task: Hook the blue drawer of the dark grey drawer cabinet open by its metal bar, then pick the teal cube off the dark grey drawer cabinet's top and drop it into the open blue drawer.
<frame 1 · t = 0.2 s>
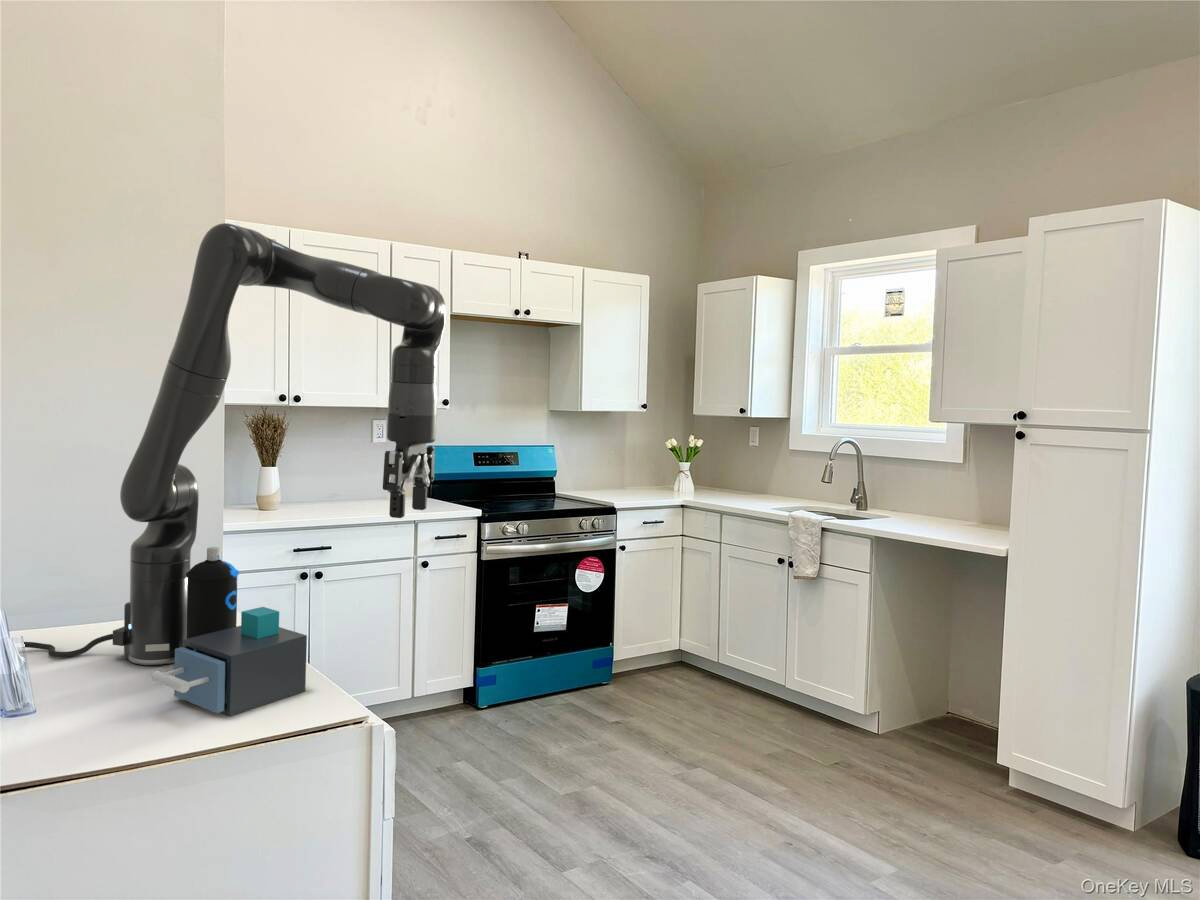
hand: (408, 513, 142), 29 cm above the countertop, tool pointing down, fingers open, 8 cm apart
aerosol can: (211, 665, 151), on the countertop
dark grey drawer cabinet: (244, 694, 139), on the countertop
blue drawer: (218, 673, 134), point 5 cm above the countertop, slide at 0.5 cm
teal cube: (259, 633, 140), point 9 cm above the countertop, touching dark grey drawer cabinet
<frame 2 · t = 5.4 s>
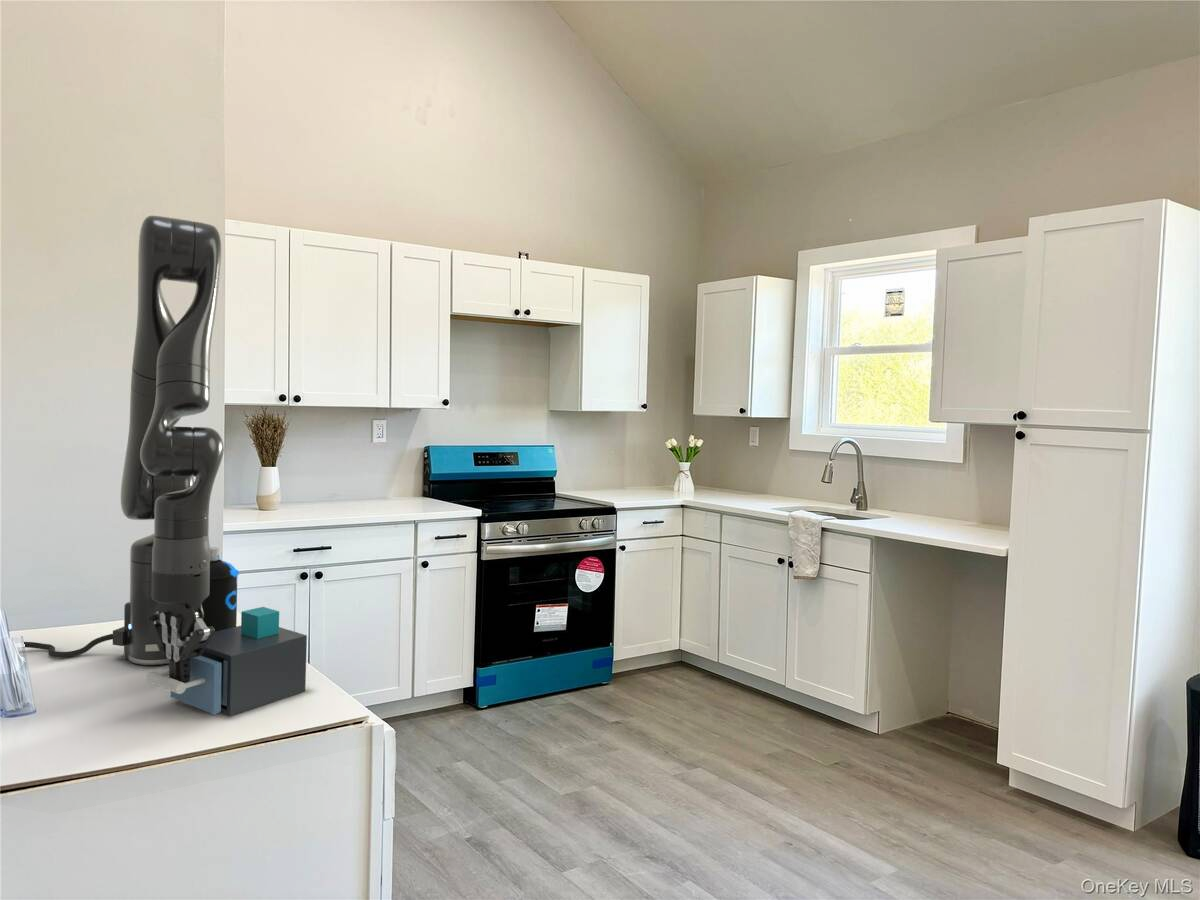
hand: (179, 684, 129), 5 cm above the countertop, tool pointing down, fingers closed
blue drawer: (215, 674, 134), point 5 cm above the countertop, slide at 1.1 cm, touching gripper
everything else where it was.
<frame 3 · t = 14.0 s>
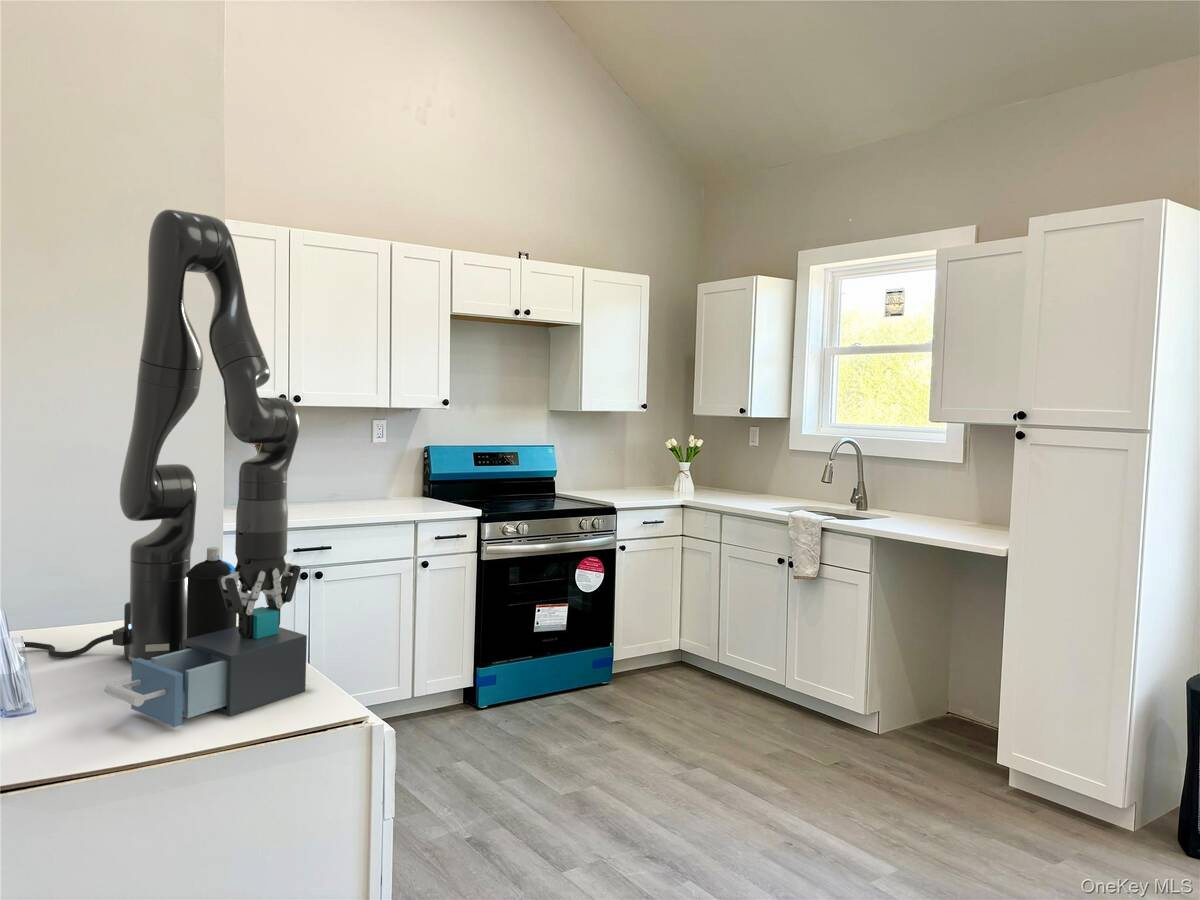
hand: (259, 633, 140), 9 cm above the countertop, tool pointing down, fingers closed on teal cube, 4 cm apart
blue drawer: (177, 685, 129), point 5 cm above the countertop, slide at 7.1 cm
teal cube: (259, 633, 140), point 9 cm above the countertop, touching gripper
everything else where it was.
when the fingers open (8 cm above the countertop, at t = 20.0 s): teal cube drops 6 cm, resting on blue drawer.
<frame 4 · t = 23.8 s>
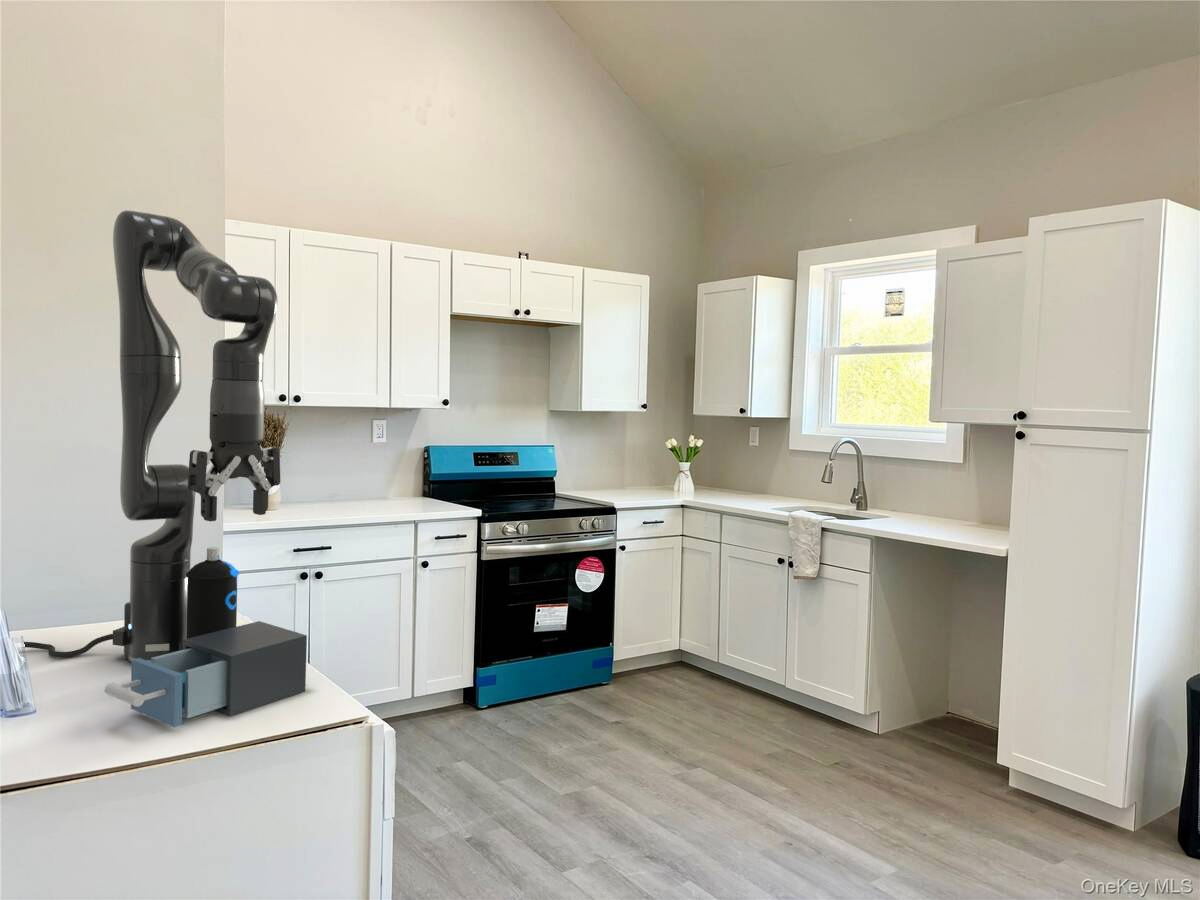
hand: (235, 517, 135), 28 cm above the countertop, tool pointing down, fingers open, 8 cm apart
blue drawer: (177, 685, 129), point 5 cm above the countertop, slide at 7.2 cm, touching teal cube
teal cube: (181, 701, 130), point 2 cm above the countertop, touching blue drawer
everything else where it was.
at the end: blue drawer slide at 7.2 cm; teal cube inside the target area in the blue drawer (0.4 cm from its centre), point 2.0 cm above the dark grey drawer cabinet's base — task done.
